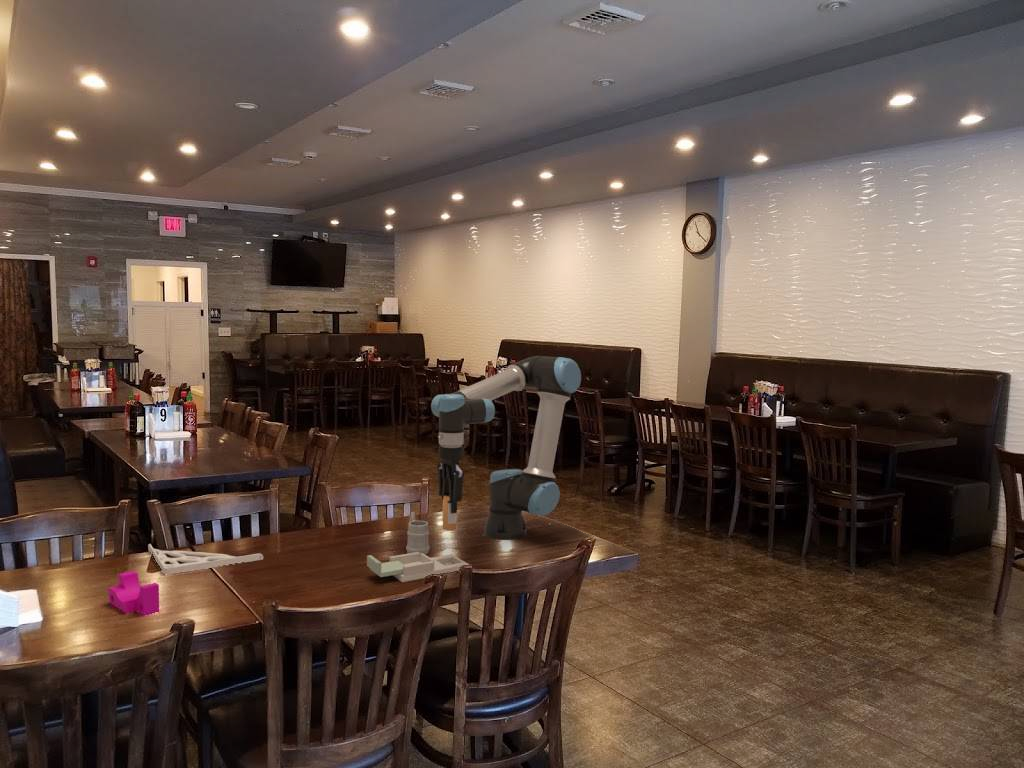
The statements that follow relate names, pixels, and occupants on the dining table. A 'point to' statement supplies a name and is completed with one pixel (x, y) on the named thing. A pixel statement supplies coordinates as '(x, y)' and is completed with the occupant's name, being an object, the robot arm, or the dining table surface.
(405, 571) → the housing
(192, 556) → the shelf bracket
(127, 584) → the toy block
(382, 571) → the pale green l-shaped block
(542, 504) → the robot arm
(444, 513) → the orange cylinder
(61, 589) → the dining table surface
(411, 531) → the mug
